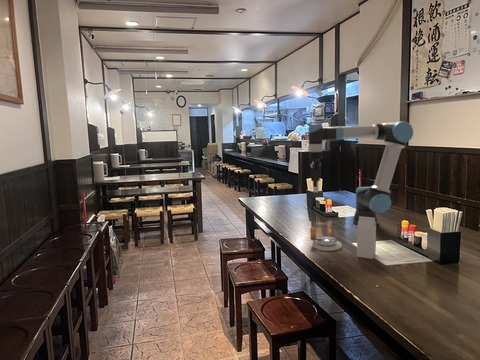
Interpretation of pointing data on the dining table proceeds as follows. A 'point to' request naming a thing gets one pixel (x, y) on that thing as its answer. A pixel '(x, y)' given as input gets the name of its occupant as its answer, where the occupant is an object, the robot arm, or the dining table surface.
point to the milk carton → (366, 237)
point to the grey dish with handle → (322, 239)
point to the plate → (324, 248)
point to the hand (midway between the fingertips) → (315, 192)
